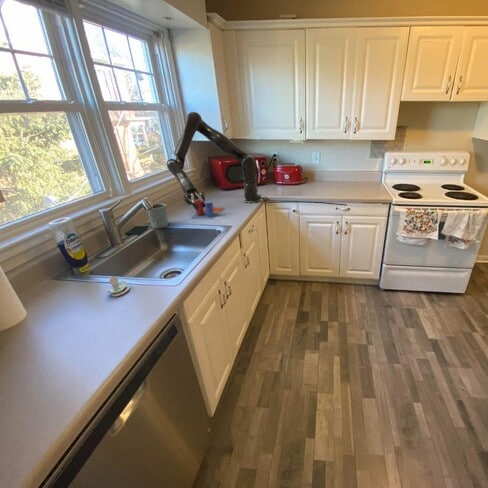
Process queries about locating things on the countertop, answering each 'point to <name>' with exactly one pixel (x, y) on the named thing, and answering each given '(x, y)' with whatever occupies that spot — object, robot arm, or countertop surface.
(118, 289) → the pacifier
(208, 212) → the blue upright cylinder
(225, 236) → the countertop surface
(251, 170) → the robot arm
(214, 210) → the terracotta mat
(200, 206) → the red upright cylinder
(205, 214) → the blue mat
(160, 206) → the grey-green cylindrical pot
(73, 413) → the countertop surface
